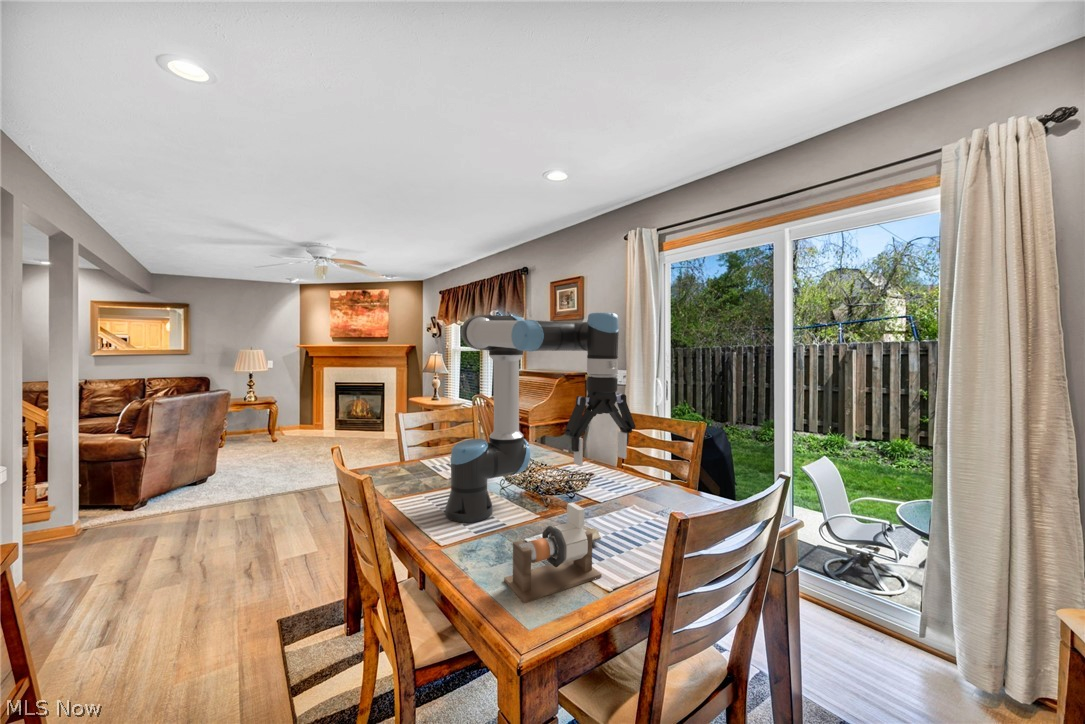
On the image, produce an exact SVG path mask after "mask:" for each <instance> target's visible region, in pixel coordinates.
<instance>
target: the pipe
mask: <svg viewBox="0 0 1085 724" xmlns="http://www.w3.org/2000/svg"><path fill="white" fill-rule="evenodd" d="M583 529H584V528H583ZM584 531H585V532H586V530H585V529H584ZM560 536H561V535H560ZM545 539H546V540H547V542H548V544H549V547H550V557H554V556H558V545H557V542H556V539H555V537H554V536H551V537H549V536H548V537H547V538H545ZM519 546H520V547H521V548H524V547H529V548H530V549H531V564H534V563H533V562H535V561H536V550H535V547H534V545H533V544H532V543H531V542H529V541H528V542H523V544H520V545H519ZM550 557H549V558H550ZM535 563H536V562H535Z"/></svg>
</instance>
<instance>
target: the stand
mask: <svg viewBox="0 0 1085 724" xmlns="http://www.w3.org/2000/svg"><path fill="white" fill-rule="evenodd" d="M584 529H585V528H584ZM585 530H586V532H585V534H586V536H587V540H588V552H587V554H586V555H585V556H584V557H583V558H581V559H577V560H574V561H570V562H567V563H564V564H560V565H559V566H558V567H554V566H553V565H552V564H551V563H550V564H546V565H542V566H539V567H536V568H532V563H531V549H530V548H529V547H524V548H521V547H520V546H519V545H520V544H523V543H524V542H523V541H522V540H519V541H515V542H512V574H511V575H508V576H505V577H503V581H504V582H505V583H506V585H507V586H508V587H509V588H510V589H511V590H512V591H513V592H514V594H515V595H517V596H518V598H519V599H520V600H521V601H522V602H523V604H526V603H527V602H531V601H534V600H537V599H539V598H544V597H546V596H548V595H551V594H555V593H559V592H561V591H564V590H568V589H570V588H574V587H576V586H579V585H582V584H585V583H588V582H591V581H594V580H593V579H595V578H598V579H600V578H599V577H601V578H602V573H601V572H600V571H598V570H597V569H596V568H595V567H593V542H592V534H593V533H591V532H590V531H588V530H587V529H585ZM595 580H596V579H595Z"/></svg>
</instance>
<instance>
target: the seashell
mask: <svg viewBox="0 0 1085 724" xmlns="http://www.w3.org/2000/svg"><path fill="white" fill-rule="evenodd" d="M583 528H585V529H587V530H588V531H590V532H591V533H593V534H592V543H593V542H594V541H601V540H602V537H601V535H600V533H599V530H598V528H592V527H589V526H587V525H584V527H583Z"/></svg>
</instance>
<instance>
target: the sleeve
mask: <svg viewBox="0 0 1085 724" xmlns="http://www.w3.org/2000/svg"><path fill="white" fill-rule="evenodd" d="M585 513H586V512H585V508H583V507H581V506H580V505H578V504H576V503H575V502H569V503H567V504H566V522H567V523H562V524H558V525H553V526H552V527H553V528H555V529H556V530H557V531H559V533H560V535H561V538H562V541H563V543H564V561H563V562H562V563H561V564H564V563H567V562H570V561H574V560H577V559H581V558H583V557H584V556H585V555H586V554H587V552H588V540H587V536H586V534H585V531H584V529H583V527H584V526H585ZM551 536H554V535H552V534H551V533H550V534H549V535H548V537H551ZM553 558H555V559H557V558H558V556H554V557H553Z"/></svg>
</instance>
